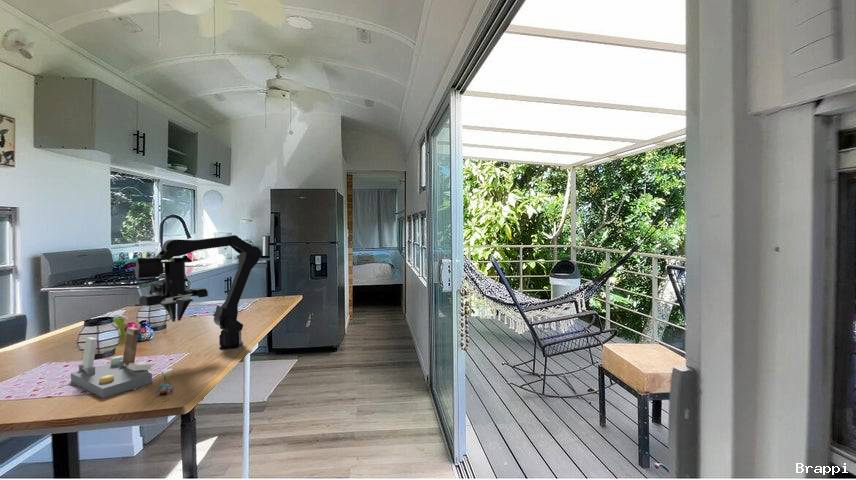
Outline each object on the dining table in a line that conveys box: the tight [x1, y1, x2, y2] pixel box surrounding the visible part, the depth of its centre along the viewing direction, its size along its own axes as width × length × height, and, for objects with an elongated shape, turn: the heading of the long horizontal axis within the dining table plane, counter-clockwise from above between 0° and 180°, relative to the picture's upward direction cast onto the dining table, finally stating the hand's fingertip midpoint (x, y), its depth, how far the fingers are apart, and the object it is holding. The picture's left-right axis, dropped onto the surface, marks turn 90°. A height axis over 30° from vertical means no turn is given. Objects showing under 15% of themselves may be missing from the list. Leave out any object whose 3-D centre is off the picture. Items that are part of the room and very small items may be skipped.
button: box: [110, 354, 124, 366], centre depth 109 cm, size 3×3×2 cm
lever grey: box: [81, 336, 98, 369], centre depth 103 cm, size 1×4×8 cm, turn 61°
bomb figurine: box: [155, 374, 174, 398], centre depth 95 cm, size 8×8×6 cm
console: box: [70, 360, 153, 399], centre depth 102 cm, size 11×22×4 cm, turn 61°
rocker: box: [128, 361, 152, 371], centre depth 102 cm, size 4×4×1 cm
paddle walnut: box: [123, 326, 140, 365], centre depth 106 cm, size 1×4×11 cm, turn 61°
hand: (176, 321), depth 120 cm, fingers closed
